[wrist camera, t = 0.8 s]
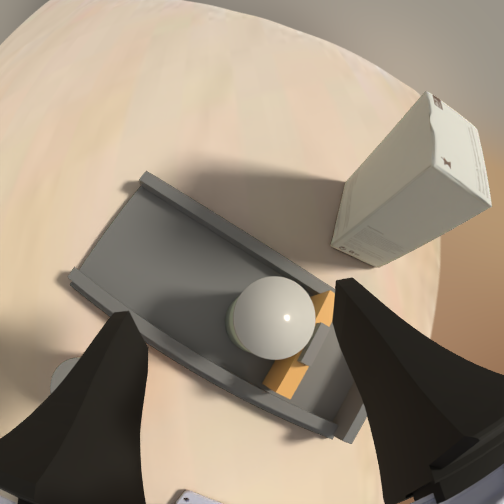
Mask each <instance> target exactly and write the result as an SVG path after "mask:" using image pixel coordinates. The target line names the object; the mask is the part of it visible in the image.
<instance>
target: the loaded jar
mask: <svg viewBox="0 0 504 504" xmlns="http://www.w3.org/2000/svg"><path fill="white" fill-rule="evenodd" d="M315 318H316V317H315V309H314V306H313V303H312V300H311V298H310V297H309V295H308V294H307V292H306V291H305V290H304V289H303V288H302V287H301V286H300V285H299V284H297V283H296V282H294V281H292V280H290V279H287V278H284V277H278V276H271V277H265V278H262V279H259V280H257V281H255V282H253V283H252V284H250V285H249V286H248V287H247V288H246V289H245V290H244V291H243V292H242V293H241V294H240V295H239V296H238V297H237V298H236V299H235V300H234V301H233V302H232V303H231V304H230V306H229V308H228V310H227V312H226V316H225V328H226V332H227V334H228V337H229V338H230V340H231V341H232V342H233V344H234V345H236V346H237V347H238V348H240V349H241V350H243V351H246V352H249V353H253V354H254V355H257V356H259V357H262V358H265V359H271V360H279V359H285V358H288V357H291V356H293V355H295V354H297V353H298V352H299V351H301V350H302V349H303V348H304V347H305V346H306V344H307V343H308V342H309V340H310V338H311V336H312V334H313V331H314V328H315Z"/></svg>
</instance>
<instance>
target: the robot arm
mask: <svg viewBox="0 0 504 504" xmlns="http://www.w3.org/2000/svg"><path fill="white" fill-rule="evenodd" d="M332 323H333V326H334V330H335V333H336V337H337V340H338V343H339V346H340V349H341V351H342V353H343V356H344V358H345V360H346V363H347V365H348V367H349V370H350V372H351V374H352V376H353V379H354V381H355V383H356V386H357V388H358V390H359V393H360V395H361V398H362V401H363V403H364V406H365V410H366V413H367V417H368V421H369V424H370V428H371V432H372V436H373V440H374V445H375V449H376V454H377V459H378V464H379V470H380V476H381V483H382V491H383V499H384V502H385V504H397V503H400V502H402V501H404V500H407V499H409V498H411V497H414V500H415V502H413V503H410V504H504V375H502V374H499V373H496V372H493V371H491V370H488V369H486V368H483V367H481V366H479V365H476V364H474V363H472V362H470V361H468V360H466V359H464V358H462V357H460V356H458V355H456V354H454V353H452V352H451V351H449V350H447V349H445V348H444V347H442V346H440V345H439V344H437V343H436V342H434V341H432V340H431V339H429V338H428V337H426V336H425V335H423V334H422V333H420V332H419V331H418V330H416V329H415V328H413V327H412V326H411V325H409V324H408V323H407V322H405V321H404V320H403V319H401V318H400V317H399V316H398V315H396V314H395V313H394V312H393V311H391V310H390V309H389V308H388V307H387V306H385V305H384V304H383V303H382V302H381V301H379V300H378V299H377V298H376V297H375V296H374V295H372V294H371V293H370V292H369V291H368V290H367V289H365V288H364V287H363V286H362V285H361V284H360V283H358V282H357V281H356V280H355V279H354V278H347V279H342V280H336V286H335V298H334V309H333V319H332ZM147 374H148V347H147V345H146V343H145V341H144V339H143V337H142V335H141V333H140V332H139V330H138V328H137V326H136V324H135V322H134V320H133V318H132V316H131V314H130V312H129V311H122V312H114V313H113V314H112V316H111V317H110V318H109V319H108V321H107V322H106V323H105V325H104V326H103V327H102V329H101V330H100V332H99V333H98V334H97V336H96V337H95V339H94V340H93V341H92V343H91V344H90V345H89V347H88V348H87V350H86V351H85V352H84V354H83V355H82V356H81V358H80V359H79V360H78V362H77V363H76V364H75V365H74V367H73V368H72V369H71V371H70V372H69V373H68V375H67V376H66V377H65V378H64V380H63V381H62V382H61V383H60V384H59V386H58V387H57V388H56V389H55V390H54V391H53V392H52V393H51V395H50V396H49V397H48V398H47V399H46V400H45V401H44V402H43V403H42V404H41V405H40V406H39V407H38V408H37V409H36V410H35V411H34V412H33V413H32V414H31V415H30V416H28V417H27V418H26V419H25V420H24V421H23V422H22V423H20V424H19V425H18V426H17V427H16V428H14V429H13V430H12V431H10V432H9V433H8V434H6V435H5V436H4V437H2V438H1V439H0V489H2V490H3V491H5V492H7V493H9V494H11V495H13V496H15V497H17V498H18V503H16V502H14V501H12V500H10V499H8V498H5V497H3V496H1V495H0V504H146V502H145V496H144V489H143V481H142V472H141V457H140V428H141V418H142V410H143V403H144V396H145V388H146V381H147ZM184 498H188V500H184ZM175 504H223V503H220V502H218V501H215V500H212V499H210V498H207V497H205V496H202V495H200V494H197V493H195V492H193V491H190V490H186V491H184V492H183V494H182V495H181V496H180V498H179V499H178V500H177V502H176V503H175Z"/></svg>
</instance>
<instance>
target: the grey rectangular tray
mask: <svg viewBox="0 0 504 504" xmlns="http://www.w3.org/2000/svg"><path fill="white" fill-rule="evenodd" d="M139 181H140V185H141V186H140V188H139V189H138V190H137V191H136V192H135V194H134V195H133V196H132V197H131V199H130V200H129V201H128V203H127V204H126V205H125V206H124V208H123V209H122V210H121V212H120V213H119V214H118V215H117V217H116V218H115V219H114V221H113V222H112V223H111V225H110V226H109V228H108V229H107V230H106V232H105V233H104V234H103V236H102V237H101V239H100V240H99V241H98V243H97V244H96V246H95V247H94V249H93V250H92V251H91V253H90V254H89V256H88V257H87V259H86V260H85V262H84V263H83V265H82V266H81V268H80V269H79V270H78V269H77V268H75V267H74V268H73V269H72V271H71V272H70V274H69V276H68V278H69V279H70V280H72V282H71V283H70V285H71V286H72V287H73V288H74V289H75V290H77V291H78V292H79V293H80V294H81V295H83V296H84V297H85V298H86V299H88V300H89V301H90V302H91V303H93V304H94V305H95V306H97V307H98V308H99V309H100V310H102V311H103V312H104V313H106V314H107V315H108V316H110V317H111V316H112V314H113V313H114V312H122V311H129V312H130V314H131V316H132V318H133V320H134V322H135V324H136V326H137V328H138V330H139V332H140V333H141V335H142V337H143V339H144V341H145V342H146V343H148V344H149V345H151V346H152V347H154V348H155V349H157V350H158V351H160V352H162V353H163V354H165V355H166V356H168V357H169V358H171V359H173V360H174V361H176V362H177V363H179V364H181V365H182V366H184V367H186V368H187V369H189V370H191V371H192V372H194V373H196V374H197V375H199V376H201V377H202V378H204V379H206V380H208V381H209V382H211V383H213V384H215V385H217V386H218V387H220V388H222V389H224V390H226V391H228V392H229V393H231V394H233V395H235V396H237V397H239V398H241V399H243V400H245V401H247V402H249V403H251V404H253V405H255V406H257V407H259V408H261V409H263V410H265V411H267V412H269V413H271V414H273V415H276V416H278V417H280V418H282V419H284V420H287V421H289V422H291V423H293V424H296V425H298V426H300V427H303V428H305V429H307V430H310V431H312V432H315V433H317V434H320V435H322V436H325V437H327V438H330V439H333V438H334V436H335V437H337V438H338V439H340V440H342V441H344V442H347V443H350V444H352V442H353V441H354V439H355V437H356V435H357V434H358V432H359V430H360V428H361V427H362V425H363V423H364V421H365V419H366V417H367V413H366V410H365V406H364V403H363V401H362V398H361V395H360V393H359V390H358V388H357V386H356V383H355V381H354V379H353V376H352V374H351V372H350V370H349V367H348V365H347V363H346V360H345V358H344V356H343V353H342V351H341V349H340V346H339V343H338V340H337V337H336V333H335V330H334V326H333V323H332V322H331V325H330V330H329V332H328V334H327V336H326V338H325V340H324V342H323V344H322V346H321V348H320V350H319V352H318V354H317V356H316V358H315V360H314V362H313V364H312V365H311V367H308V369H307V371H306V373H305V375H304V376H303V378H302V380H301V382H300V384H299V385H298V387H297V389H296V391H295V392H294V394H293V396H292V398H291V399H288V398H286V397H284V396H282V395H280V394H278V393H276V392H274V391H273V390H271V389H270V388H268V387H267V386H265V385H263V384H262V382H263V381H264V379H265V377H266V375H267V374H268V372H269V370H270V369H271V367H272V365H273V363H274V362H275V360H271V359H265V358H262V357H259V356H257V355H254V354H253V353H249V352H246V351H243V350H241V349H240V348H238V347H237V346H236V345H234V344H233V342H232V341H231V340H230V338H229V337H228V334H227V332H226V328H225V316H226V312H227V310H228V308H229V306H230V304H231V303H232V302H233V301H234V300H235V299H236V298H237V297H238V296H239V295H240V294H241V293H242V292H243V291H244V290H245V289H246V288H247V287H248V286H249V285H250V284H252V283H253V282H255V281H257V280H259V279H262V278H265V277H271V276H278V277H284V278H287V279H290V280H292V281H294V282H296V283H297V284H299V285H300V286H301V287H302V288H303V289H304V290H305V291H306V292H307V294H308V295H309V297H311V296H314V295H317V294H320V293H323V292H326V291H329V290H331V291H332V292H334V293H335V289H334V288H332V287H331V286H329V285H328V284H326V283H324V282H323V281H321V280H320V279H318V278H317V277H315V276H314V275H312V274H310V273H309V272H307V271H306V270H304V269H303V268H301V267H300V266H298V265H296V264H295V263H293V262H292V261H290V260H289V259H287V258H285V257H284V256H282V255H281V254H279V253H278V252H276V251H274V250H273V249H271V248H270V247H268V246H267V245H265V244H263V243H262V242H260V241H259V240H257V239H256V238H254V237H252V236H251V235H249V234H248V233H246V232H244V231H243V230H241V229H240V228H238V227H236V226H235V225H233V224H232V223H230V222H228V221H227V220H225V219H224V218H222V217H221V216H219V215H217V214H216V213H214V212H212V211H211V210H209V209H208V208H206V207H204V206H203V205H201V204H200V203H198V202H196V201H195V200H193V199H192V198H190V197H188V196H187V195H185V194H184V193H182V192H180V191H179V190H177V189H175V188H174V187H172V186H171V185H169V184H167V183H166V182H164V181H162V180H161V179H159V178H158V177H156V176H154V175H153V174H151V173H149V172H147V171H146V172H145V173H144V174H143V175H142V177H141V178H140V179H139Z"/></svg>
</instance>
